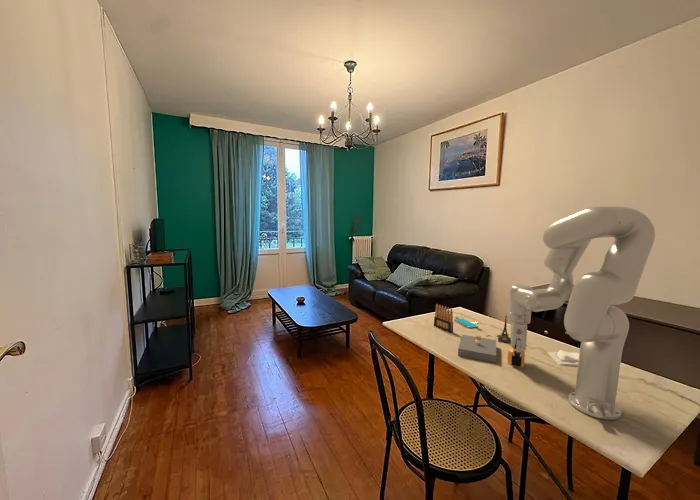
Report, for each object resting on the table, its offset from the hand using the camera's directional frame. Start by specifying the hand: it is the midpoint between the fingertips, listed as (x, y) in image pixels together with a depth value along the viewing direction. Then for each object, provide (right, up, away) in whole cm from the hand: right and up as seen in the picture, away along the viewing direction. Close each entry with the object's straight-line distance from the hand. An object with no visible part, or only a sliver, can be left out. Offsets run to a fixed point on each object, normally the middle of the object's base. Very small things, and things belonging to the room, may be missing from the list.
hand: (515, 361), depth 120 cm
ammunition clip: (-18, +4, +35) cm, 39 cm away
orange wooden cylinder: (0, -1, 0) cm, 1 cm away
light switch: (+24, -1, +3) cm, 24 cm away
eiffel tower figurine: (+7, +1, +21) cm, 22 cm away
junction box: (-10, +1, +10) cm, 15 cm away
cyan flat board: (-2, +4, +43) cm, 43 cm away
